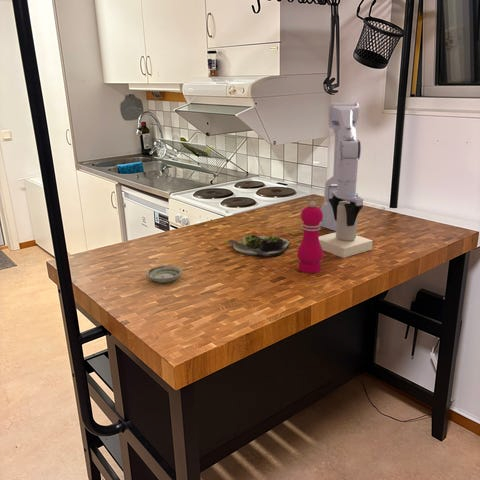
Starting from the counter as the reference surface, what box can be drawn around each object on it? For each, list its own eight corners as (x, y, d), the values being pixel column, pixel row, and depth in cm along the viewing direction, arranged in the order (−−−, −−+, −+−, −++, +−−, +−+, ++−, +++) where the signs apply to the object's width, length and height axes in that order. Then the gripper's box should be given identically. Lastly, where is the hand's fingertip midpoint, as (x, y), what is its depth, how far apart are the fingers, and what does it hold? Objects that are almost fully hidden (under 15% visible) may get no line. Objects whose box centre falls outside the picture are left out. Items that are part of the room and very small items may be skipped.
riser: (313, 246, 154) (314, 237, 153) (341, 239, 161) (342, 230, 160) (343, 257, 144) (344, 248, 143) (371, 249, 151) (372, 240, 150)
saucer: (189, 278, 130) (189, 270, 129) (162, 290, 123) (162, 281, 122) (166, 270, 136) (165, 262, 135) (139, 280, 129) (138, 272, 128)
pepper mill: (292, 266, 138) (294, 199, 131) (314, 263, 140) (317, 197, 134) (304, 275, 131) (307, 205, 125) (327, 271, 134) (330, 202, 127)
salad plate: (217, 253, 149) (217, 239, 148) (240, 237, 165) (240, 224, 163) (275, 262, 142) (275, 247, 140) (293, 244, 157) (294, 231, 156)
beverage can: (354, 242, 148) (357, 205, 144) (333, 240, 150) (336, 203, 146) (357, 236, 154) (359, 200, 150) (337, 234, 156) (339, 199, 152)
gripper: (372, 183, 141) (369, 227, 145) (343, 175, 153) (341, 215, 158) (353, 185, 138) (350, 230, 142) (325, 177, 151) (323, 218, 155)
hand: (344, 222), depth 150 cm, fingers closed on beverage can, 6 cm apart
